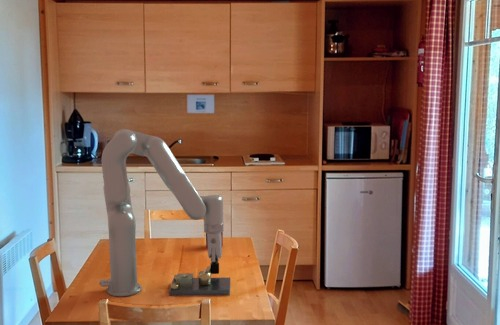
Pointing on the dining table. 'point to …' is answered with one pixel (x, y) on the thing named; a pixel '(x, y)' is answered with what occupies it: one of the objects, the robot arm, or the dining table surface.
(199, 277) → the lever handle
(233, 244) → the dining table surface
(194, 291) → the plate
